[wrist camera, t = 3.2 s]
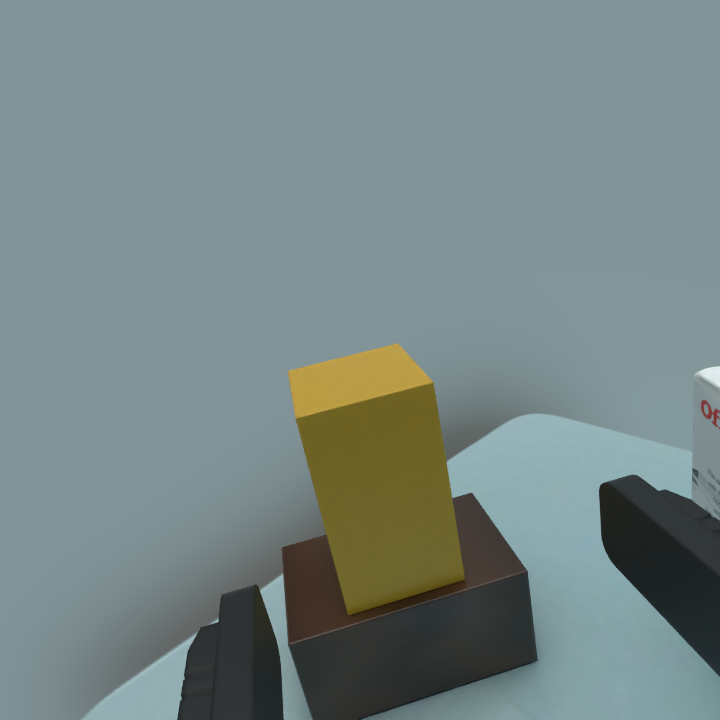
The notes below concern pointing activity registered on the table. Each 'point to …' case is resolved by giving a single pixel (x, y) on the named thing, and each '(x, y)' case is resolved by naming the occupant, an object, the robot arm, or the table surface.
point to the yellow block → (379, 475)
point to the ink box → (706, 441)
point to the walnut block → (407, 626)
